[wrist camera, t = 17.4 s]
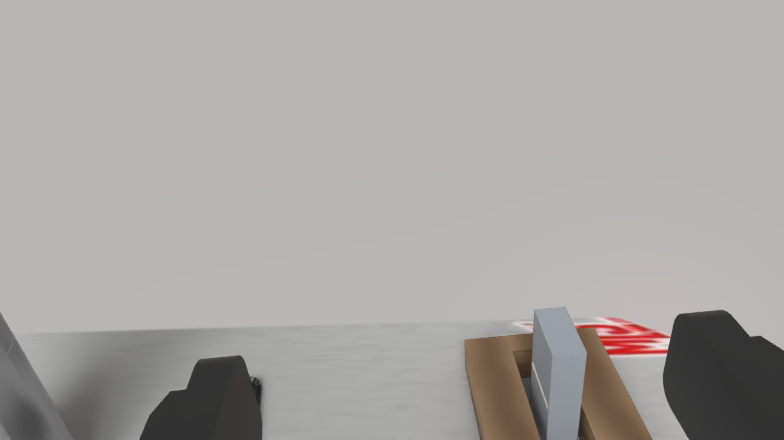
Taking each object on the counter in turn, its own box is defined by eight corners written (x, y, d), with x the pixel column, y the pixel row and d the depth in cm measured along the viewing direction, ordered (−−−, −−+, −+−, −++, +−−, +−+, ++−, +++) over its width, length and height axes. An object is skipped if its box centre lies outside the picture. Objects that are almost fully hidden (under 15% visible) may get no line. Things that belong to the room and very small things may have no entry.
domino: (544, 457, 44) (551, 356, 39) (529, 407, 49) (533, 309, 43) (576, 454, 44) (587, 352, 39) (557, 404, 49) (565, 306, 43)
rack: (499, 531, 40) (499, 502, 38) (465, 367, 53) (464, 339, 52) (668, 516, 39) (676, 485, 38) (590, 355, 53) (593, 327, 51)
